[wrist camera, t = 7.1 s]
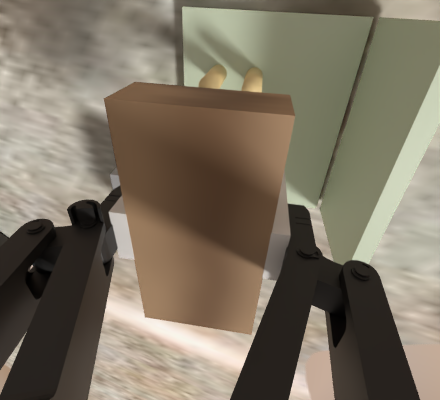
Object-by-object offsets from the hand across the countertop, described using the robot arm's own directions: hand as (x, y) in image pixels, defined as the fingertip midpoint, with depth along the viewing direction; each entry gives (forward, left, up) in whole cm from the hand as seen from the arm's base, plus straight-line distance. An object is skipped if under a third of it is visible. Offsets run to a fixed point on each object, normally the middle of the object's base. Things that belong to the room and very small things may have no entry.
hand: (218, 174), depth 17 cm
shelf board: (0, 0, +4) cm, 4 cm away
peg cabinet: (+3, 0, -11) cm, 12 cm away
